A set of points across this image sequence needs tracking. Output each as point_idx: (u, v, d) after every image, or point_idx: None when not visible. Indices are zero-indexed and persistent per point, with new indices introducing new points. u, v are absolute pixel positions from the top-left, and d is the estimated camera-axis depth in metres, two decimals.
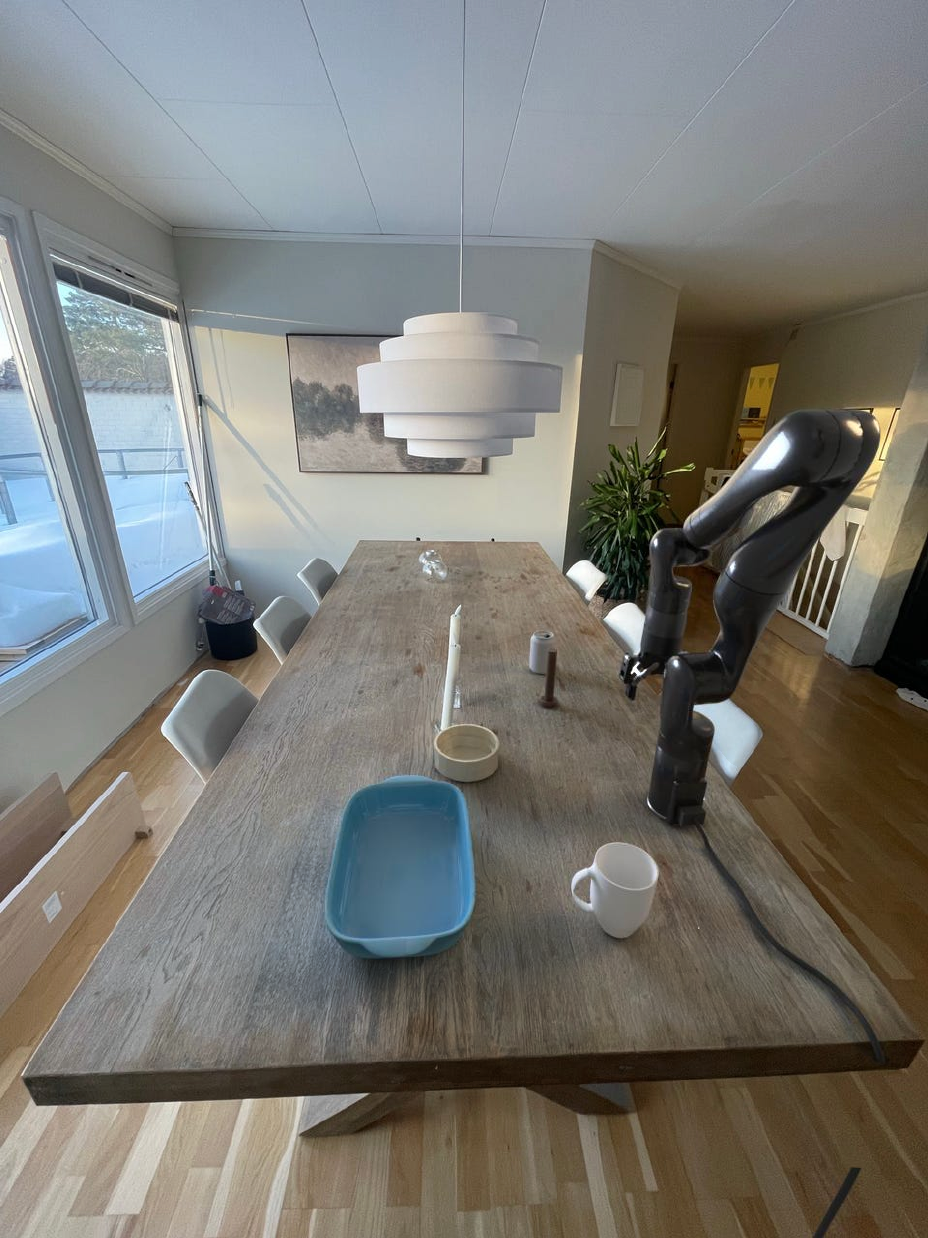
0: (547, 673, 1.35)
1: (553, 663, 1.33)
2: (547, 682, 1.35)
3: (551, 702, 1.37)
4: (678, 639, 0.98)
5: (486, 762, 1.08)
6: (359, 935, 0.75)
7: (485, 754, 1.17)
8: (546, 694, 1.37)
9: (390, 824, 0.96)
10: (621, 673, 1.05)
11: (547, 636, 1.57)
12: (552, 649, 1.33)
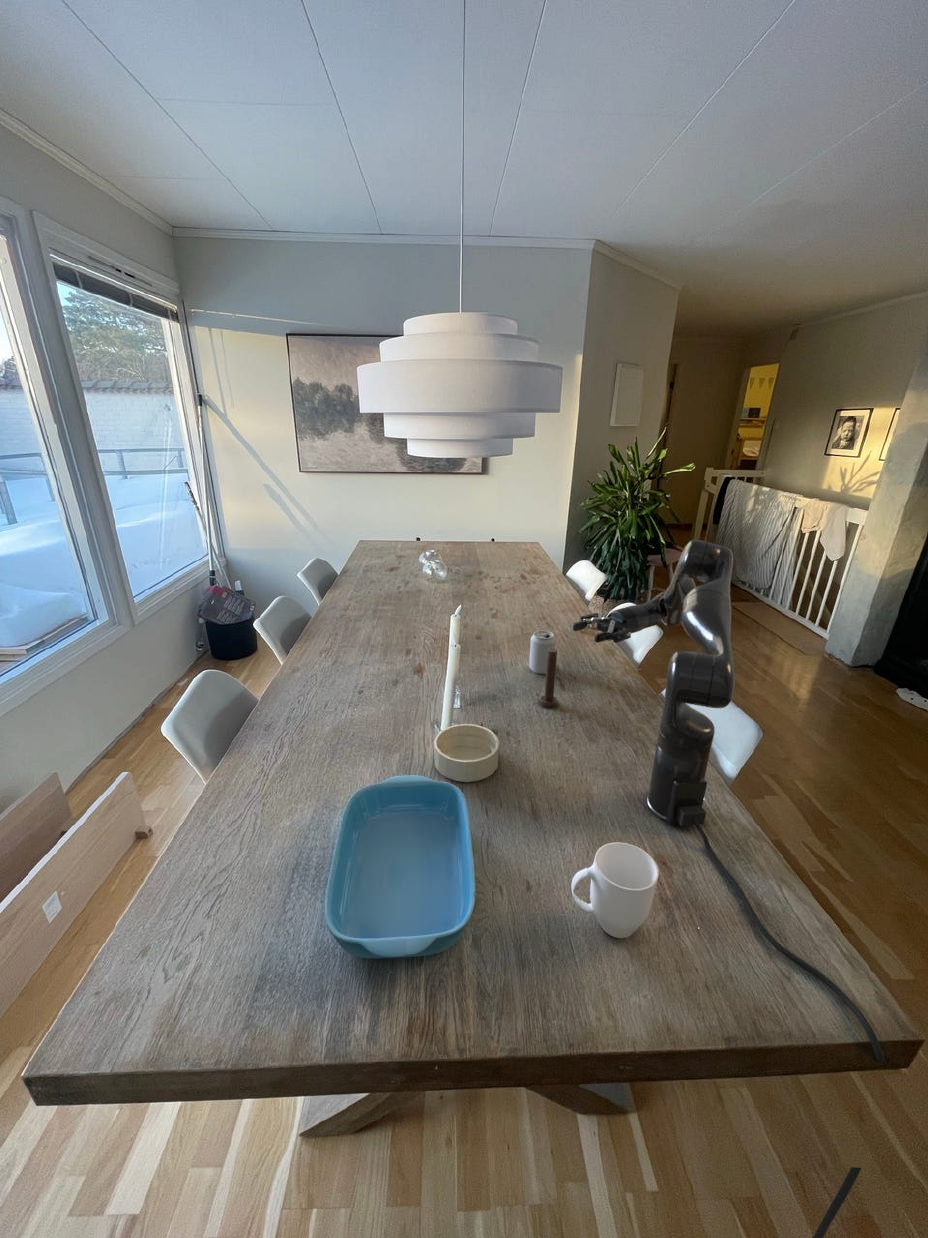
0: (547, 673, 1.35)
1: (553, 663, 1.33)
2: (547, 682, 1.35)
3: (551, 702, 1.37)
4: (631, 610, 1.41)
5: (486, 762, 1.08)
6: (359, 935, 0.75)
7: (485, 754, 1.17)
8: (546, 694, 1.37)
9: (390, 824, 0.96)
10: None
11: (547, 636, 1.57)
12: (552, 649, 1.33)
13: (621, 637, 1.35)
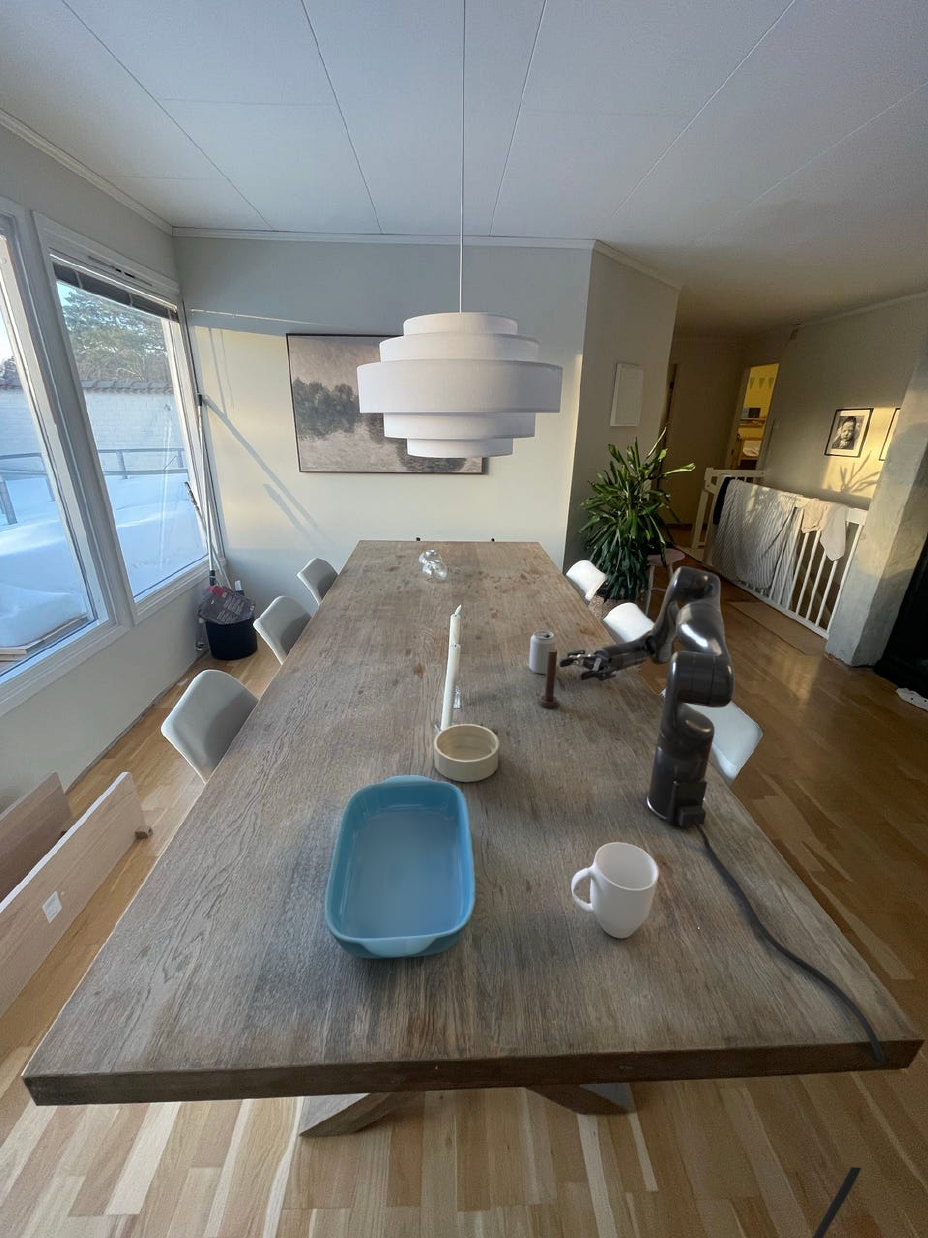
0: (547, 673, 1.35)
1: (553, 663, 1.33)
2: (547, 682, 1.35)
3: (551, 702, 1.37)
4: (617, 649, 1.43)
5: (486, 762, 1.08)
6: (359, 935, 0.75)
7: (485, 754, 1.17)
8: (546, 694, 1.37)
9: (390, 824, 0.96)
10: None
11: (547, 636, 1.57)
12: (552, 649, 1.33)
13: (606, 676, 1.36)
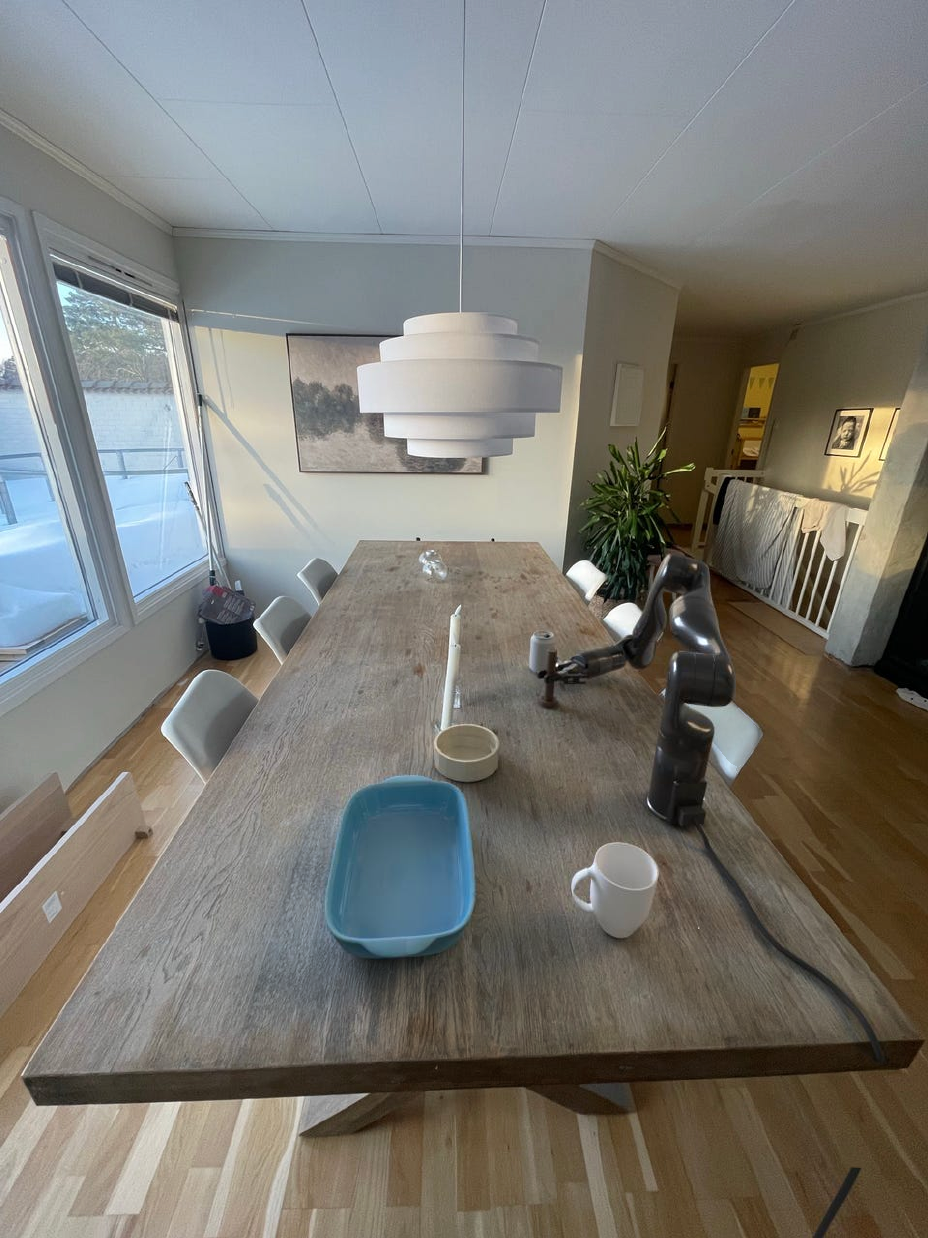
0: (547, 673, 1.35)
1: (553, 663, 1.33)
2: None
3: (551, 702, 1.37)
4: (594, 654, 1.39)
5: (486, 762, 1.08)
6: (359, 935, 0.75)
7: (485, 754, 1.17)
8: (546, 694, 1.37)
9: (390, 824, 0.96)
10: None
11: (547, 636, 1.57)
12: (552, 649, 1.33)
13: (573, 680, 1.33)
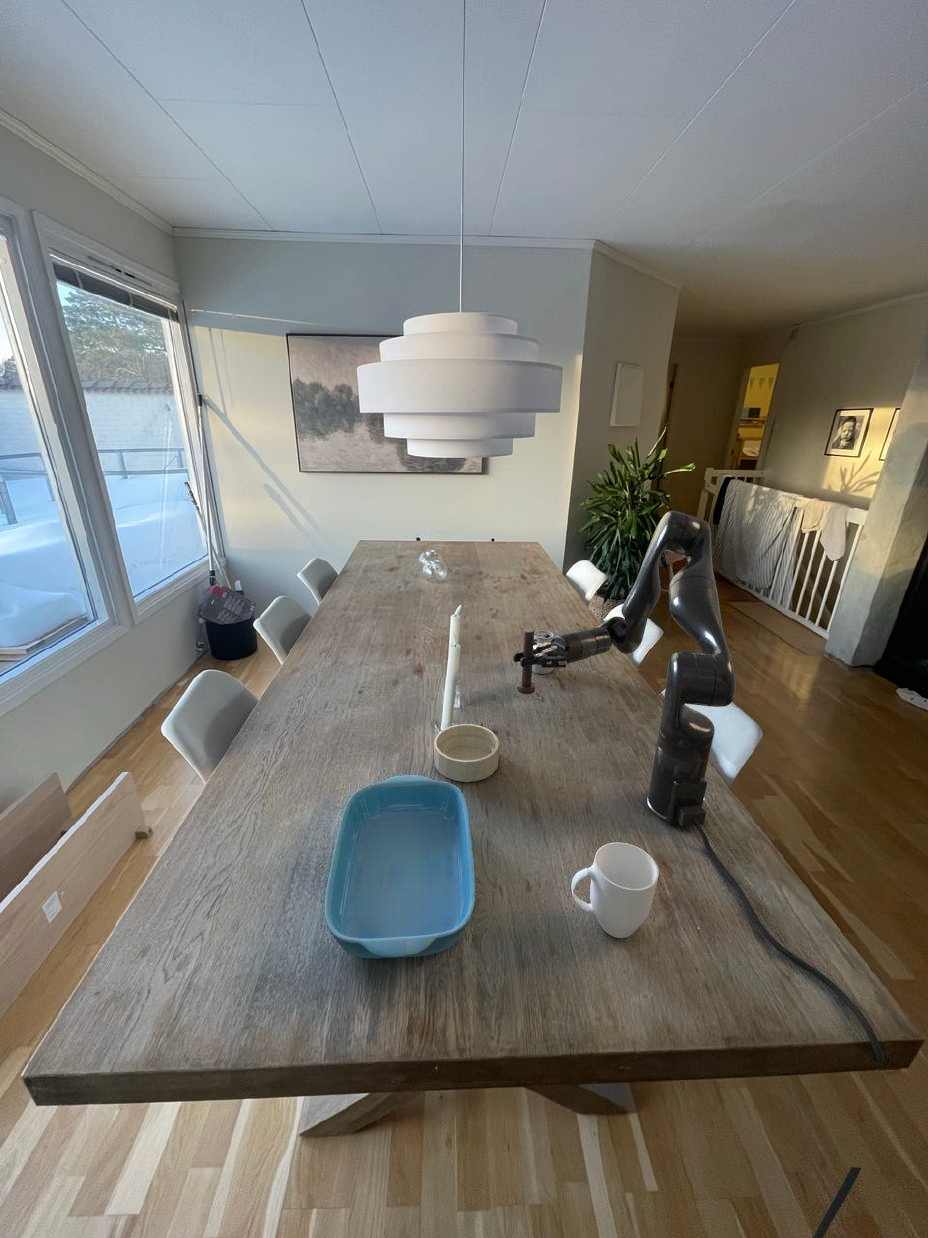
0: (524, 656, 1.23)
1: (530, 645, 1.22)
2: None
3: (528, 688, 1.25)
4: (576, 636, 1.28)
5: (486, 762, 1.08)
6: (359, 935, 0.75)
7: (485, 754, 1.17)
8: (523, 679, 1.25)
9: (390, 824, 0.96)
10: None
11: (547, 636, 1.57)
12: (529, 629, 1.22)
13: (551, 664, 1.22)
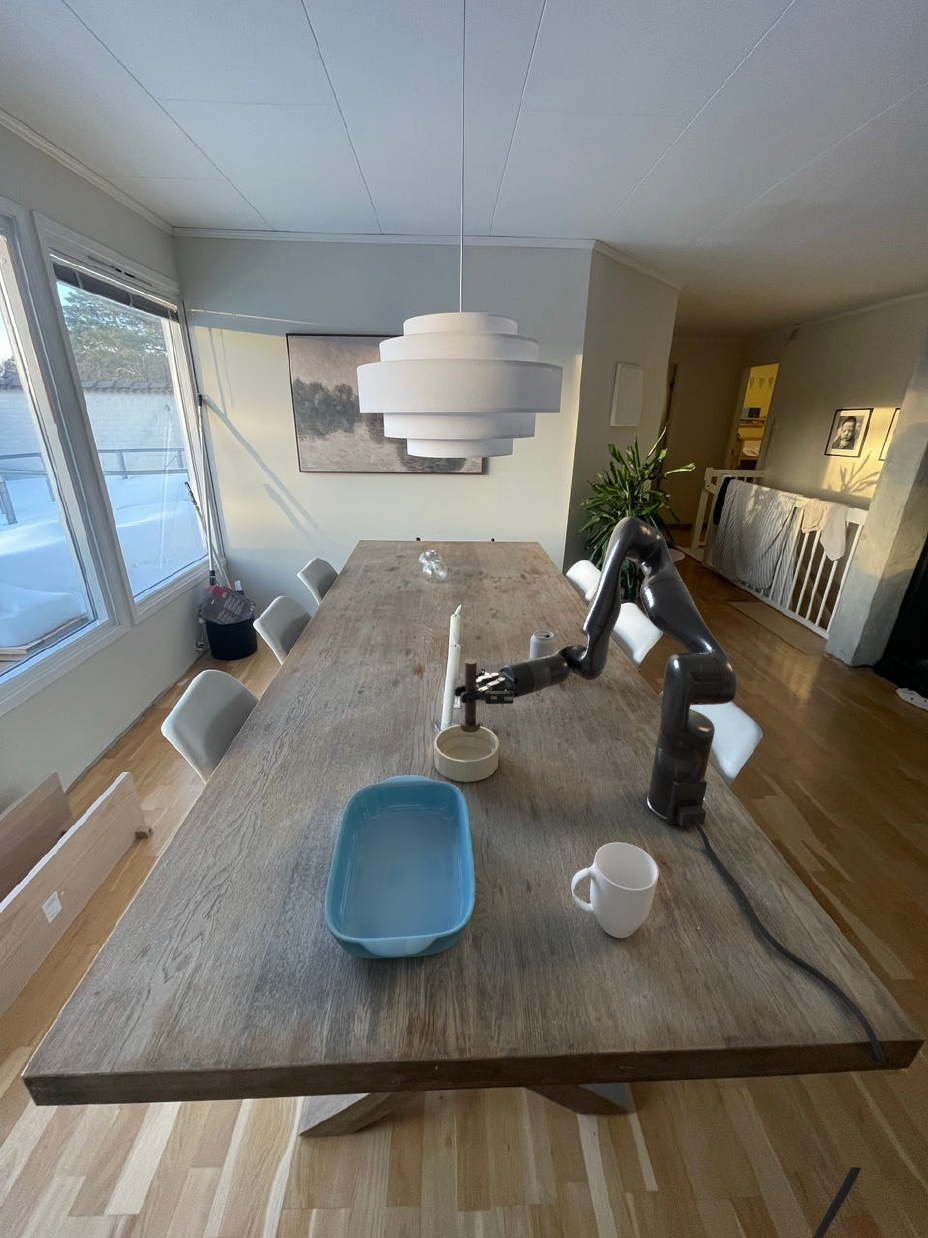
0: (465, 690, 1.09)
1: (471, 678, 1.07)
2: None
3: (472, 725, 1.10)
4: (527, 666, 1.13)
5: (486, 762, 1.08)
6: (359, 935, 0.75)
7: (485, 754, 1.17)
8: (466, 715, 1.11)
9: (390, 824, 0.96)
10: None
11: (547, 636, 1.57)
12: (471, 660, 1.07)
13: (496, 699, 1.07)
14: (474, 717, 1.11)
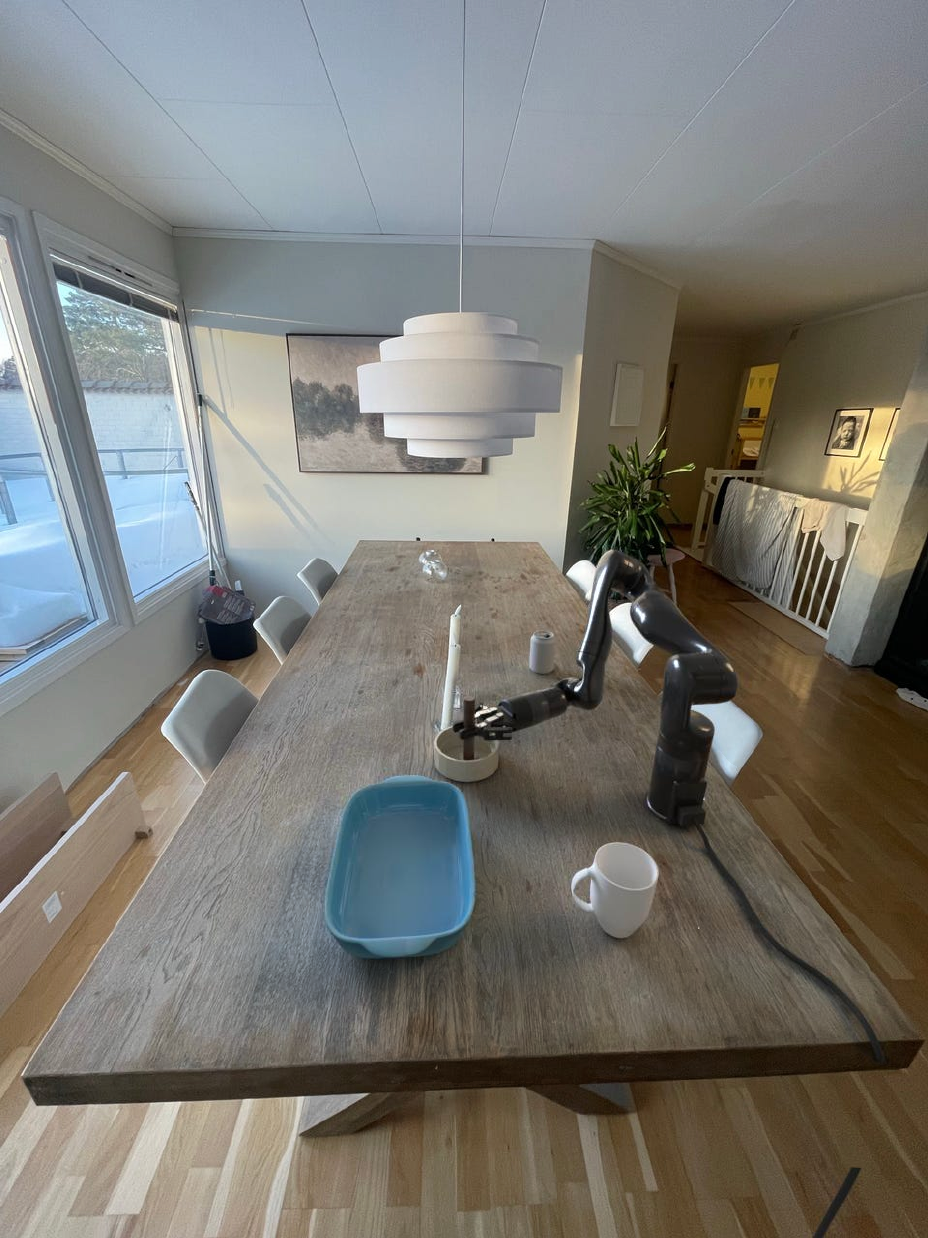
0: (464, 726, 1.08)
1: (470, 714, 1.06)
2: None
3: None
4: (525, 700, 1.13)
5: (486, 762, 1.08)
6: (359, 935, 0.75)
7: (485, 754, 1.17)
8: (464, 751, 1.10)
9: (390, 824, 0.96)
10: None
11: (547, 636, 1.57)
12: (469, 697, 1.07)
13: (495, 736, 1.07)
14: (472, 753, 1.10)
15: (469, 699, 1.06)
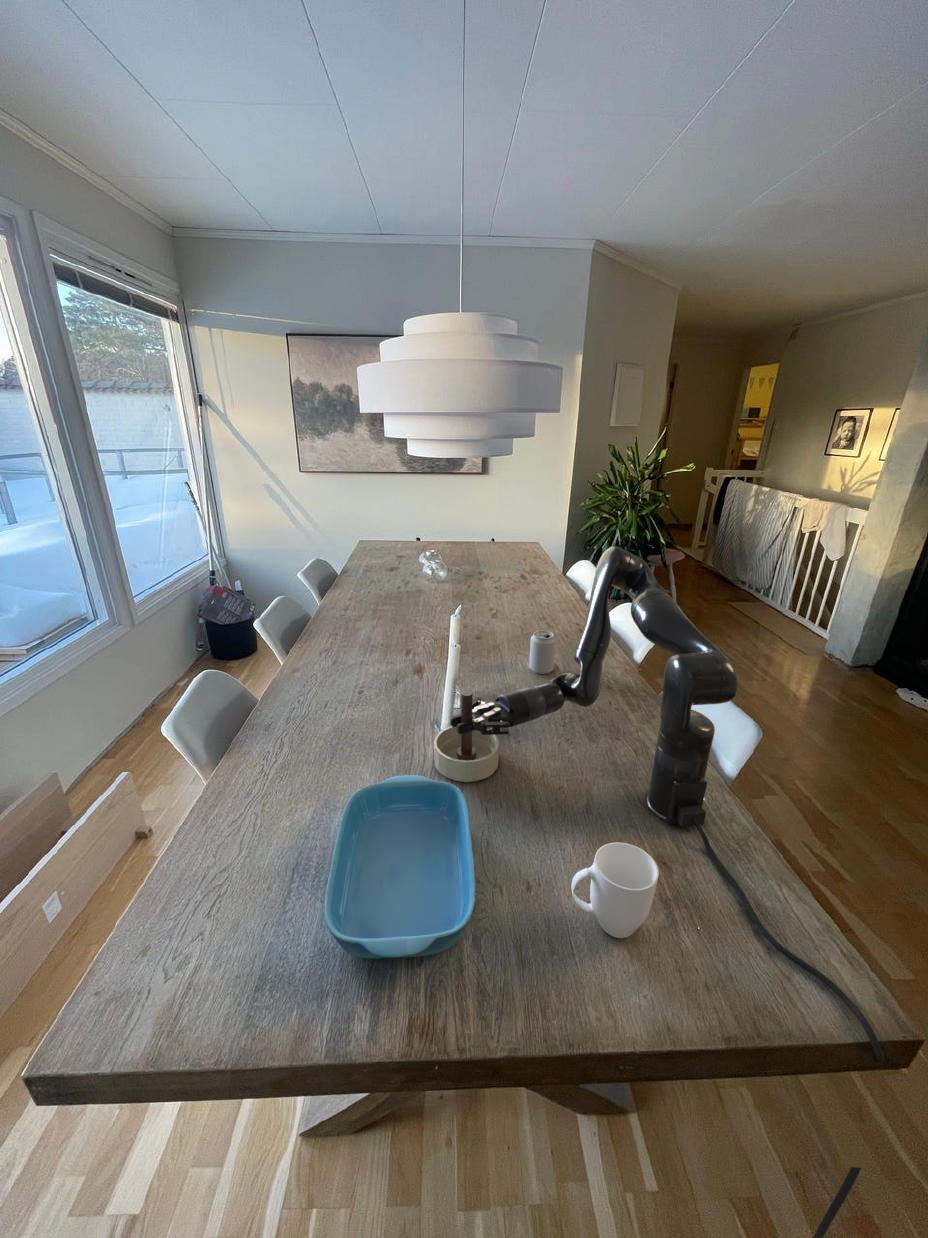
0: (462, 720, 1.10)
1: (467, 709, 1.08)
2: None
3: (468, 755, 1.12)
4: (522, 696, 1.15)
5: (486, 762, 1.08)
6: (359, 935, 0.75)
7: (485, 754, 1.17)
8: (462, 745, 1.12)
9: (390, 824, 0.96)
10: None
11: (547, 636, 1.57)
12: (466, 692, 1.09)
13: (492, 730, 1.09)
14: (470, 747, 1.12)
15: (467, 694, 1.08)
